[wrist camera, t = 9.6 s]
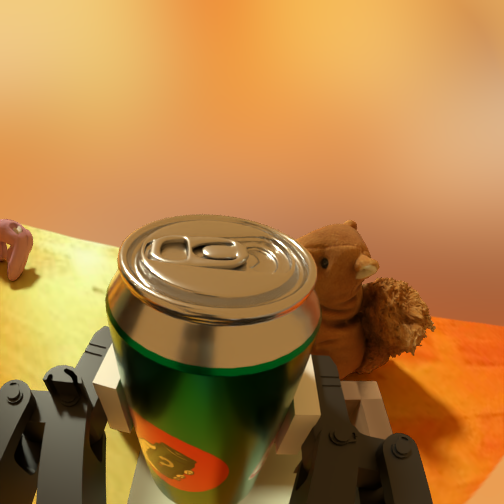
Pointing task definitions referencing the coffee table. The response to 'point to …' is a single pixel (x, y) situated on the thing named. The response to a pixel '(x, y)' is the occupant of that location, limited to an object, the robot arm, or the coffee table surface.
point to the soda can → (211, 347)
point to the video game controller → (14, 246)
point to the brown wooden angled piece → (283, 465)
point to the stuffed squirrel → (361, 304)
